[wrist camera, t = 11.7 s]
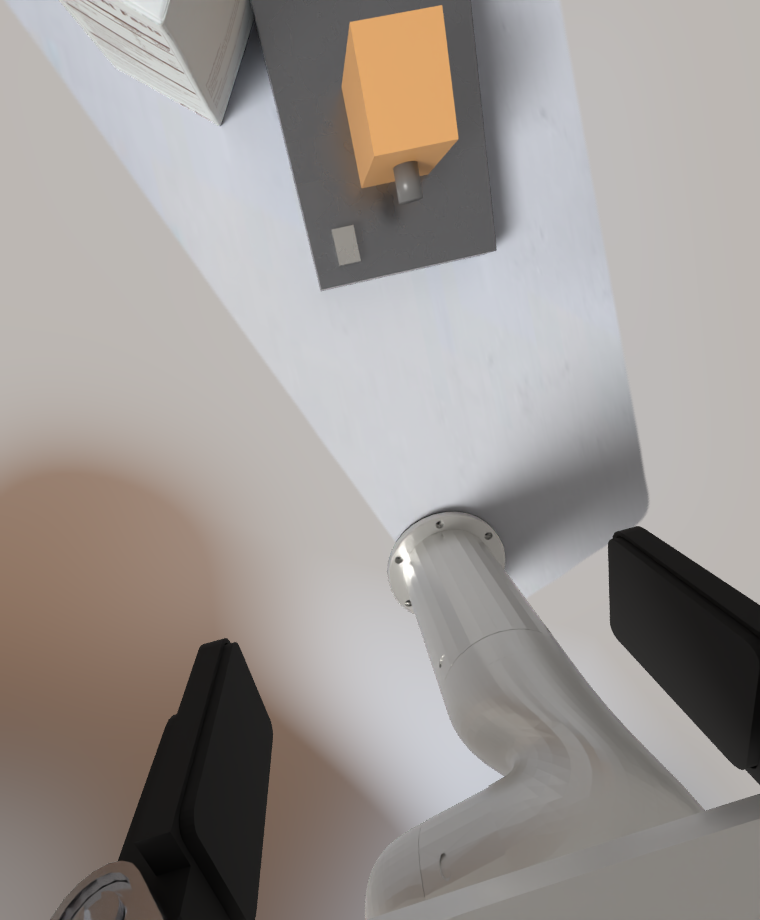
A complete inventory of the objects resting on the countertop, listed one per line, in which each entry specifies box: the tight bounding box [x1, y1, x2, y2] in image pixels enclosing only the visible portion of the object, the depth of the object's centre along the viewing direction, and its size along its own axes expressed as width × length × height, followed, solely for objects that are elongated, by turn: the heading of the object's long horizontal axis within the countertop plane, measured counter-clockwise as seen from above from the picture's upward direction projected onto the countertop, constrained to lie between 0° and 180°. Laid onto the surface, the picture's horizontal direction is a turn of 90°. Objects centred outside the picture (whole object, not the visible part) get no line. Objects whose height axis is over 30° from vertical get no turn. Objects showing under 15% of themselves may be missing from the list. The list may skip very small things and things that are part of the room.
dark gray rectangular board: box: [251, 0, 496, 291], centre depth 31 cm, size 18×14×4 cm
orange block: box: [342, 5, 459, 204], centre depth 28 cm, size 8×5×9 cm, turn 12°
